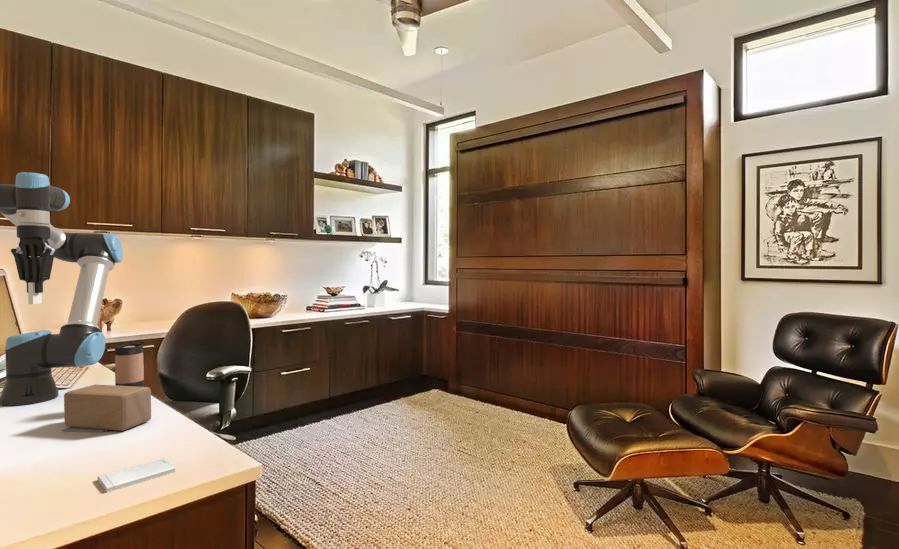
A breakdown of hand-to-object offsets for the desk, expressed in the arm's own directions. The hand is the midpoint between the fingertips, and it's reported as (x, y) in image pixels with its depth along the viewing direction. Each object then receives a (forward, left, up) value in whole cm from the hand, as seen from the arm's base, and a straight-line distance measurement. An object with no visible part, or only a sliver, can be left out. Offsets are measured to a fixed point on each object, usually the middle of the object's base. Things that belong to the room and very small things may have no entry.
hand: (35, 304), depth 140 cm
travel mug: (+20, +12, -35) cm, 42 cm away
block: (+17, -3, -29) cm, 34 cm away
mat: (+24, -2, -34) cm, 42 cm away
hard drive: (+60, -35, -35) cm, 78 cm away
